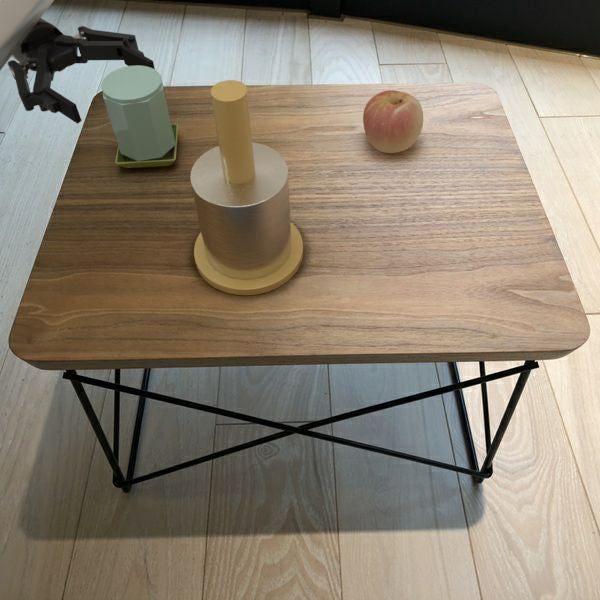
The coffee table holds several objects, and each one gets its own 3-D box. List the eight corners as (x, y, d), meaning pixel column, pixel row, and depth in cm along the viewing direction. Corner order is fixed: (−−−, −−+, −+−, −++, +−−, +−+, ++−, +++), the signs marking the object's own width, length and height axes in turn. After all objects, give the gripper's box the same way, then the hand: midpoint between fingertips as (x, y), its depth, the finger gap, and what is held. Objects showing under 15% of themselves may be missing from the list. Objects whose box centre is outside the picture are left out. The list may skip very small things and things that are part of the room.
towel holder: (173, 267, 78) (127, 106, 59) (235, 201, 85) (213, 38, 66) (264, 312, 74) (247, 153, 55) (323, 238, 81) (325, 75, 62)
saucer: (180, 133, 95) (178, 122, 93) (178, 171, 89) (175, 160, 88) (124, 137, 94) (120, 126, 93) (118, 175, 89) (114, 163, 87)
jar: (108, 148, 90) (88, 88, 82) (144, 119, 94) (128, 59, 86) (151, 166, 87) (134, 106, 79) (185, 136, 91) (173, 75, 83)
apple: (363, 163, 90) (367, 117, 83) (359, 126, 95) (362, 80, 89) (422, 162, 90) (431, 116, 83) (415, 124, 95) (422, 78, 89)
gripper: (101, 30, 104) (185, 76, 95) (-32, 97, 93) (50, 156, 84) (88, -15, 98) (177, 30, 89) (-56, 51, 87) (30, 109, 78)
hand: (116, 91), depth 87 cm, fingers open, 13 cm apart
